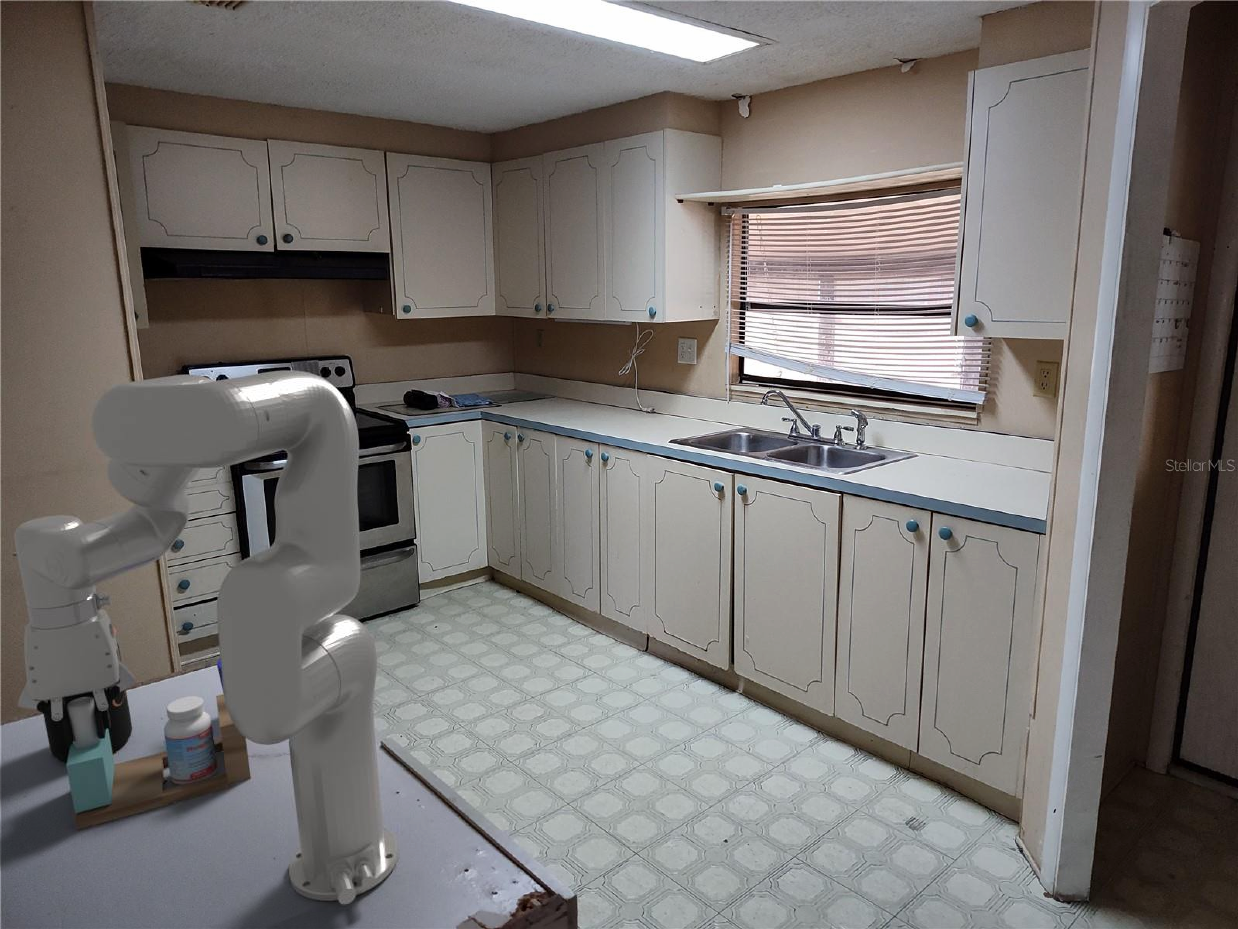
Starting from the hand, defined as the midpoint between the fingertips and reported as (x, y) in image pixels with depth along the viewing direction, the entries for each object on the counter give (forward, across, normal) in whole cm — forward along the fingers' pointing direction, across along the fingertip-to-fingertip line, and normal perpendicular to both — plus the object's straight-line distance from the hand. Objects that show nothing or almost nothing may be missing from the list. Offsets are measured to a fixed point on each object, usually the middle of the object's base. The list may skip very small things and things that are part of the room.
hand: (86, 736), depth 111 cm
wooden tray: (+10, -8, 0) cm, 13 cm away
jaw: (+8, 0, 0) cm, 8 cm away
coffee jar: (+10, +2, -16) cm, 19 cm away
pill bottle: (+10, -12, 0) cm, 16 cm away
